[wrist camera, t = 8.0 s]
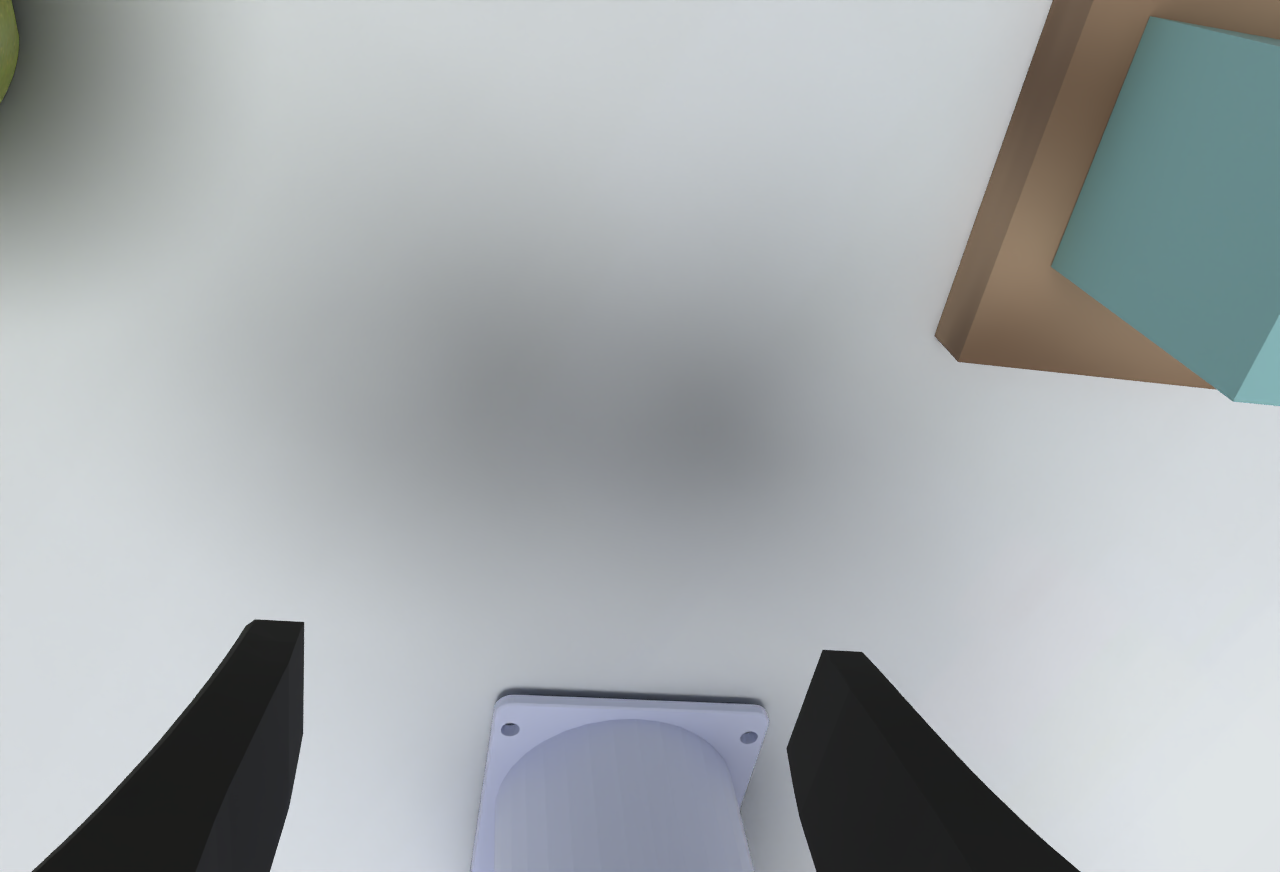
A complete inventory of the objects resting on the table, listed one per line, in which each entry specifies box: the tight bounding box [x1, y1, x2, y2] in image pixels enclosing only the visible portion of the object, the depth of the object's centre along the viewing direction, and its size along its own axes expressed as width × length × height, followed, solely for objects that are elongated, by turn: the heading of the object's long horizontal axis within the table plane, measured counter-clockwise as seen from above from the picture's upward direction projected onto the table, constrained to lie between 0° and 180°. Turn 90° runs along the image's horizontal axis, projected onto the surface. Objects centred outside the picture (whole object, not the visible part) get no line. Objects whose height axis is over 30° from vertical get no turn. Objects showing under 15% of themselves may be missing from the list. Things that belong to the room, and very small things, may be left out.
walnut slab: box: [935, 0, 1280, 389], centre depth 21 cm, size 10×8×2 cm
